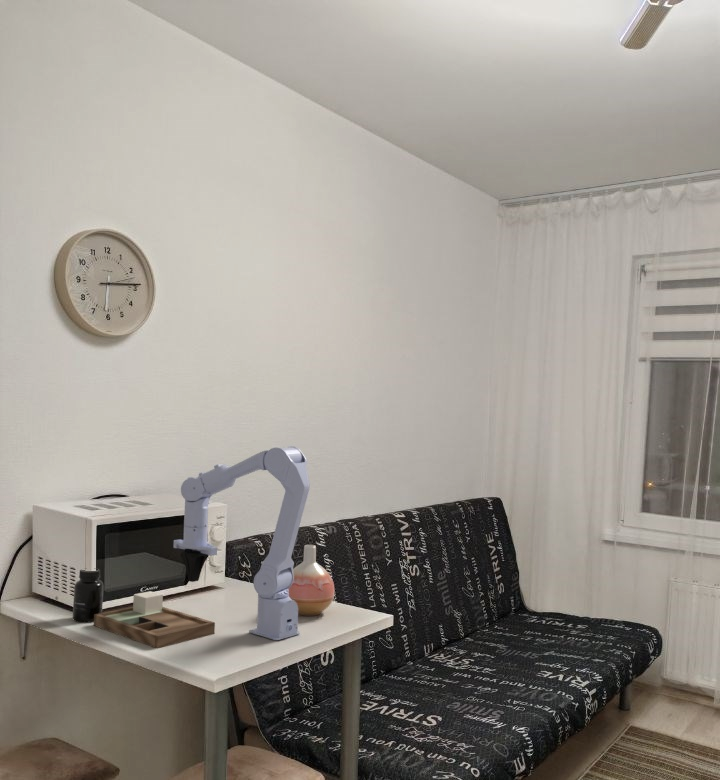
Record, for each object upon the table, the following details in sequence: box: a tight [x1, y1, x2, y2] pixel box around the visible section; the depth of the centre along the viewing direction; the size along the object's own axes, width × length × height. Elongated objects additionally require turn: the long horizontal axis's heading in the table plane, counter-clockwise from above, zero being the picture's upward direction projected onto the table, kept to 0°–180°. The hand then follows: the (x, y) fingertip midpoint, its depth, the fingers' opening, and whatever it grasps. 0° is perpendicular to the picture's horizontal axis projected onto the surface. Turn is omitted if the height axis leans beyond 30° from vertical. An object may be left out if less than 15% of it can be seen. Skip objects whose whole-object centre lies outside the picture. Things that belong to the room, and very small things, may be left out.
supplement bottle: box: [72, 568, 104, 623], centre depth 190 cm, size 7×7×12 cm
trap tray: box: [93, 606, 216, 649], centre depth 183 cm, size 25×16×3 cm, turn 51°
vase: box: [289, 544, 335, 617], centre depth 203 cm, size 14×14×18 cm
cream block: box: [132, 590, 164, 614], centre depth 192 cm, size 5×5×4 cm
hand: (193, 580), depth 191 cm, fingers closed
